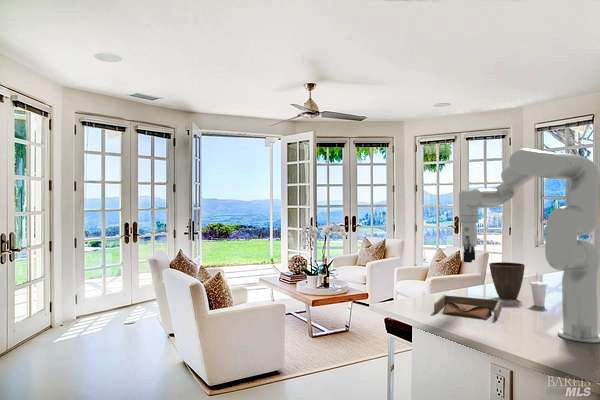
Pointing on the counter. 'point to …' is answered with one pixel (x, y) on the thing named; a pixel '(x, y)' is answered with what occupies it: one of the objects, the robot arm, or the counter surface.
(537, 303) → the smoothie
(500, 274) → the plant pot
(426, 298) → the counter surface
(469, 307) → the sunglasses case
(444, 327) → the counter surface
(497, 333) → the counter surface
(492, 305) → the walnut bracket
